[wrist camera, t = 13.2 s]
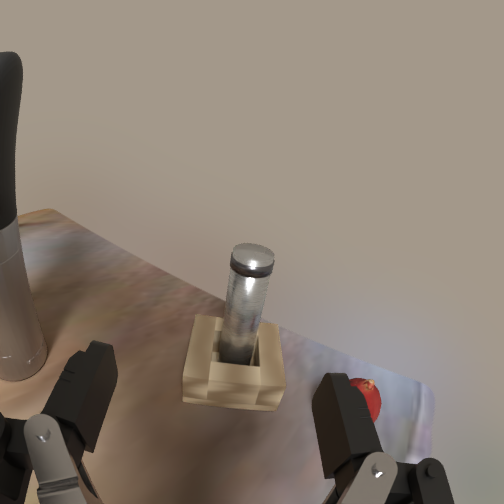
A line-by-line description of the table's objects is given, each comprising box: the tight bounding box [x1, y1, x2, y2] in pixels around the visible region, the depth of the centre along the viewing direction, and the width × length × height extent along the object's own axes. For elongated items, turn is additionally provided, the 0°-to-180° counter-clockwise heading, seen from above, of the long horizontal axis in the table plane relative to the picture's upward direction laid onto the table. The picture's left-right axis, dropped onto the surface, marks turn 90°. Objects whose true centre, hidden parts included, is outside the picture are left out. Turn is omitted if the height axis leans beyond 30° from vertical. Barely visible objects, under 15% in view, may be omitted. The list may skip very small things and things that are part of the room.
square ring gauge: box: [183, 314, 286, 411], centre depth 32 cm, size 10×10×4 cm
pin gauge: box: [218, 243, 274, 366], centre depth 29 cm, size 4×4×15 cm
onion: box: [349, 378, 381, 423], centre depth 26 cm, size 6×6×8 cm
